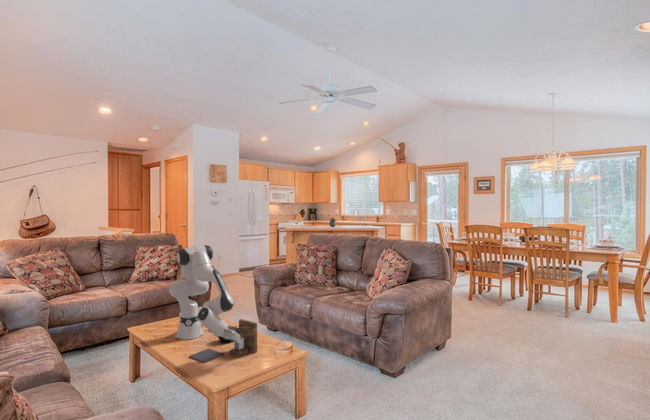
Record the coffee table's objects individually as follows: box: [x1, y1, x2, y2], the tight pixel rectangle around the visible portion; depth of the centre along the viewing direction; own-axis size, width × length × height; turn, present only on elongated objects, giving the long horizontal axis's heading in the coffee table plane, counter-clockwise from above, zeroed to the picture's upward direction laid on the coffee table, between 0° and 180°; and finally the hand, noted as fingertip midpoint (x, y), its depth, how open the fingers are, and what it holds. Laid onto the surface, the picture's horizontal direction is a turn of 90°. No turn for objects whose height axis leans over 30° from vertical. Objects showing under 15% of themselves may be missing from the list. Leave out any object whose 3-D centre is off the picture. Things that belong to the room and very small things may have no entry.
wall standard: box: [230, 318, 258, 358], centre depth 223 cm, size 12×14×18 cm
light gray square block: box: [233, 337, 244, 351], centre depth 221 cm, size 4×4×10 cm
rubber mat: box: [188, 347, 224, 364], centre depth 218 cm, size 14×14×1 cm
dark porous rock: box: [216, 325, 239, 344], centre depth 245 cm, size 10×18×10 cm, turn 139°
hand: (232, 339), depth 217 cm, fingers open, 8 cm apart
